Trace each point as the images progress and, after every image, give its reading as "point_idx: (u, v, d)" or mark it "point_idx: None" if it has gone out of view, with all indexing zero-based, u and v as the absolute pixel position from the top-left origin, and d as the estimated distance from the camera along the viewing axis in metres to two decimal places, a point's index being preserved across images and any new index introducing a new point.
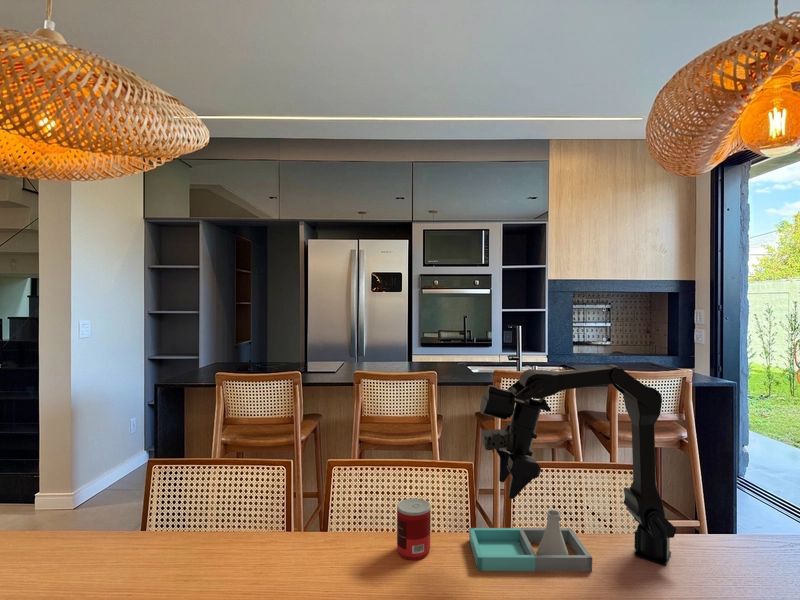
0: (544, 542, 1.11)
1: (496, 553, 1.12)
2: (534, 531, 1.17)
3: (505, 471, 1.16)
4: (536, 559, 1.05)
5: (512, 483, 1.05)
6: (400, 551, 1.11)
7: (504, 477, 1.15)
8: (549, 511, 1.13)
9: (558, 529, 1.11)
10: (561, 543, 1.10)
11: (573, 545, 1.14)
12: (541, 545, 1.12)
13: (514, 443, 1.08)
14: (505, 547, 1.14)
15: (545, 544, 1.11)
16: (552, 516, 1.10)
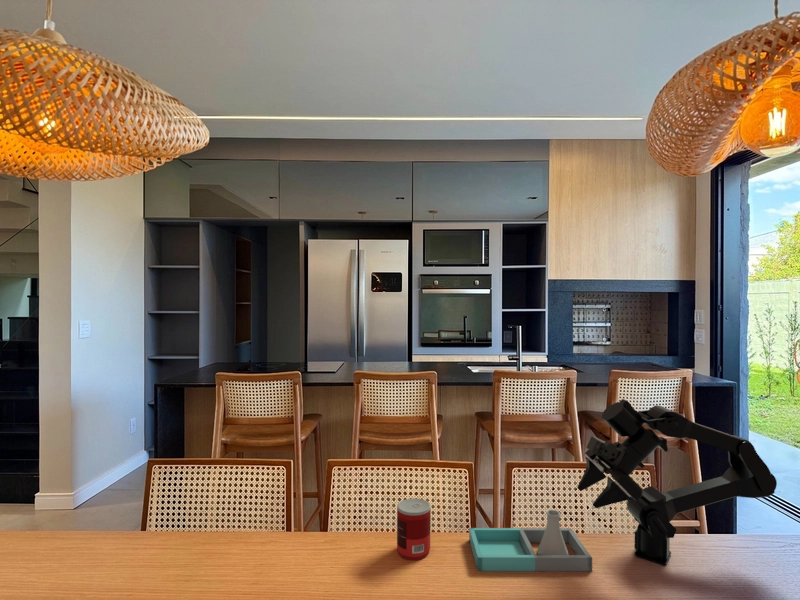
0: (544, 542, 1.11)
1: (496, 553, 1.12)
2: (534, 531, 1.17)
3: (587, 482, 1.16)
4: (536, 559, 1.05)
5: (605, 494, 1.06)
6: (400, 551, 1.11)
7: (583, 487, 1.16)
8: (549, 511, 1.13)
9: (558, 529, 1.11)
10: (561, 543, 1.10)
11: (573, 545, 1.14)
12: (541, 545, 1.12)
13: (620, 461, 1.09)
14: (505, 547, 1.14)
15: (545, 544, 1.10)
16: (552, 516, 1.10)
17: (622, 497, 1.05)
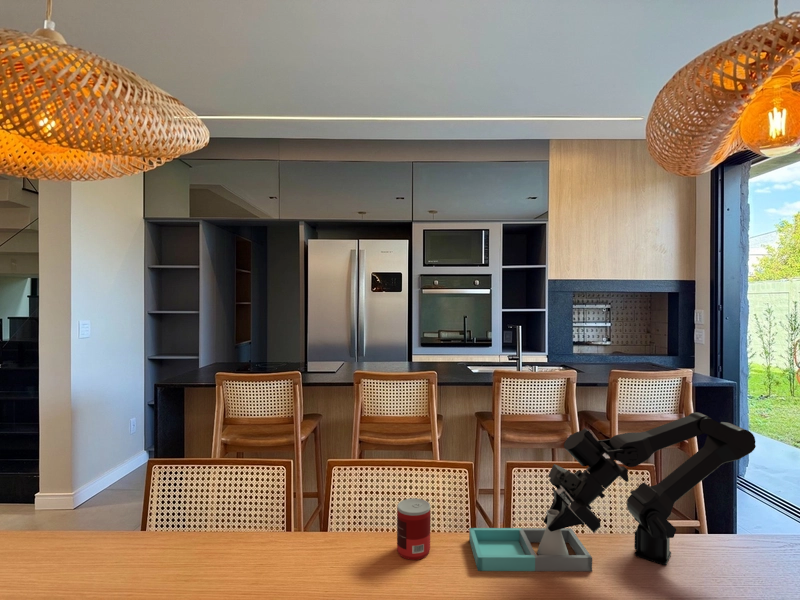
0: (544, 542, 1.11)
1: (496, 553, 1.12)
2: (534, 531, 1.17)
3: None
4: (536, 559, 1.05)
5: (559, 518, 1.09)
6: (400, 551, 1.11)
7: None
8: (549, 511, 1.13)
9: None
10: (561, 543, 1.10)
11: (573, 545, 1.14)
12: (541, 545, 1.12)
13: (581, 491, 1.09)
14: (505, 547, 1.14)
15: (545, 544, 1.10)
16: (552, 516, 1.10)
17: (575, 521, 1.08)
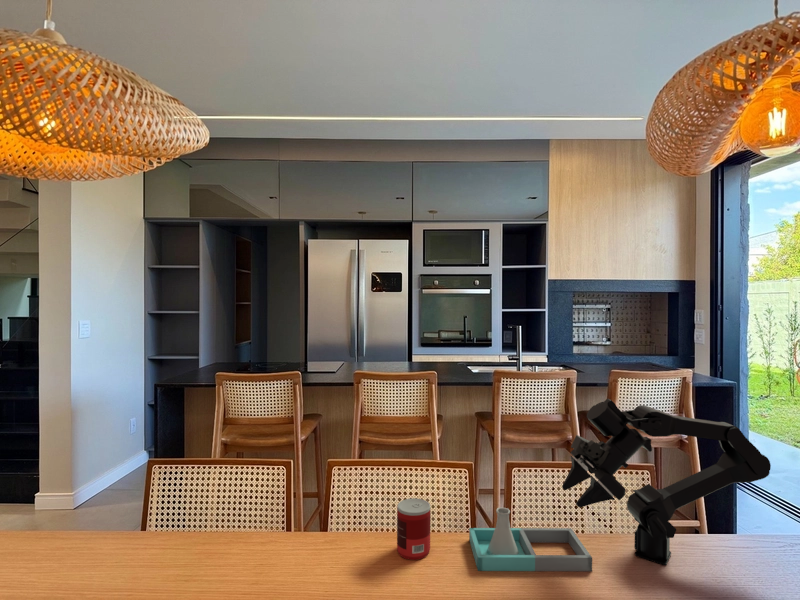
0: (494, 540, 1.11)
1: None
2: (534, 531, 1.17)
3: (572, 482, 1.16)
4: (536, 559, 1.05)
5: (588, 493, 1.06)
6: (400, 551, 1.11)
7: (568, 486, 1.16)
8: (499, 509, 1.13)
9: (507, 527, 1.11)
10: (510, 541, 1.10)
11: (573, 545, 1.14)
12: (491, 543, 1.12)
13: (604, 461, 1.09)
14: None
15: (494, 542, 1.10)
16: (501, 514, 1.10)
17: (605, 496, 1.05)
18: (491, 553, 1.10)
